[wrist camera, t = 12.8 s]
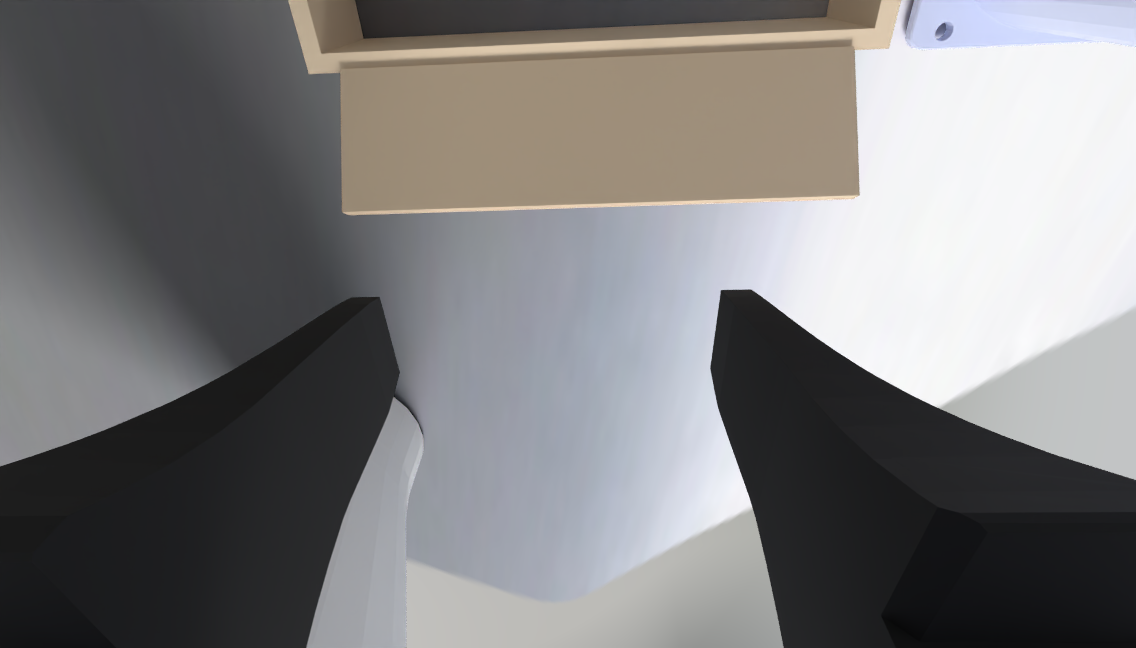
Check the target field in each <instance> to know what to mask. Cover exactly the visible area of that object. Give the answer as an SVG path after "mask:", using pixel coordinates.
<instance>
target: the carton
mask: <svg viewBox="0 0 1136 648" xmlns="http://www.w3.org/2000/svg"><path fill="white" fill-rule="evenodd" d="M288 2H289V5H290V9H291V12H292V16H293V19H294V23H295V26H296V30H297V33H298V37H299V40H300V44H301V48H302V51H303V55H304V58H305V62H306V65H307V69H308V72H309V74H321V73H340V84H341V171H342V212H343V213H345V214H347V215H371V214H402V213H434V212H465V211H496V210H527V209H559V208H590V207H621V206H653V205H684V204H715V203H747V202H778V201H809V200H841V199H854V198H855V197H857V196H859V195H860V194H859V165H858V135H857V106H856V76H855V50H865V49H888V48H889V46H890V42H891V38H892V34H893V30H894V26H895V22H896V18H897V14H898V10H899V7H900V3H901V0H829V4H828V10H827V15H826V17H815V18H794V19H772V20H751V21H730V22H709V23H687V24H666V25H645V26H623V27H602V28H581V29H560V30H538V31H517V32H496V33H474V34H453V35H432V36H411V37H389V38H368V39H364V38H363V33H362V29H361V24H360V20H359V16H358V11H357V7H356V2H355V0H288Z"/></svg>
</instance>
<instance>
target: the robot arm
mask: <svg viewBox="0 0 1136 648" xmlns="http://www.w3.org/2000/svg"><path fill="white" fill-rule="evenodd" d="M942 23H945V24H946V31H945V33H944V35H943V36H941V37H940V38H939V39H936V37H935V32H936V30H937V28H938V27H939V26H940V25H941V24H942ZM905 39H906V42H907V44H908V45H909V46H910V47H911V48H915V49H919V50H932V49H955V48H978V47H1001V46H1023V45H1046V44H1069V43H1092V42H1105V43H1112V44H1118V45H1125V46H1131V47H1136V0H914V3H913V7H912V11H911V14H910V18H909V22H908V26H907V30H906V36H905ZM710 369H711V374H712V379H713V385H714V390H715V395H716V400H717V404H718V409H719V412H720V415H721V418H722V421H723V423H724V426H725V429H726V432H727V435H728V438H729V441H730V444H731V446H732V449H733V452H734V455H735V458H736V461H737V463H738V466H739V469H740V472H741V475H742V478H743V480H744V483H745V486H746V489H747V492H748V494H749V497H750V501H751V504H752V507H753V511H754V514H755V517H756V521H757V525H758V529H759V534H760V538H761V542H762V547H763V551H764V555H765V560H766V564H767V569H768V573H769V577H770V582H771V587H772V592H773V596H774V601H775V606H776V610H777V615H778V620H779V625H780V631H781V636H782V641H783V646H784V648H1136V480H1134V479H1130V478H1127V477H1124V476H1121V475H1117V474H1114V473H1111V472H1108V471H1105V470H1102V469H1098V468H1095V467H1092V466H1089V465H1086V464H1082V463H1079V462H1076V461H1073V460H1069V459H1066V458H1063V457H1059V456H1057V455H1054V454H1051V453H1048V452H1045V451H1043V450H1040V449H1037V448H1034V447H1032V446H1029V445H1027V444H1024V443H1021V442H1018V441H1016V440H1013V439H1010V438H1007V437H1005V436H1002V435H1000V434H997V433H995V432H992V431H990V430H987V429H985V428H982V427H980V426H977V425H975V424H973V423H970V422H968V421H965V420H963V419H961V418H959V417H957V416H955V415H952V414H950V413H948V412H946V411H943V410H941V409H939V408H937V407H935V406H932V405H930V404H928V403H926V402H924V401H922V400H920V399H918V398H916V397H914V396H912V395H910V394H908V393H906V392H904V391H902V390H901V389H899V388H897V387H895V386H893V385H891V384H889V383H888V382H886V381H884V380H882V379H880V378H878V377H876V376H875V375H873V374H871V373H870V372H868V371H866V370H865V369H863V368H861V367H860V366H858V365H857V364H855V363H853V362H852V361H850V360H849V359H847V358H846V357H844V356H842V355H841V354H839V353H838V352H836V351H835V350H833V349H832V348H830V347H829V346H827V345H826V344H825V343H823V342H822V341H820V340H819V339H817V338H816V337H815V336H813V335H812V334H810V333H809V332H808V331H806V330H805V329H804V328H802V327H801V326H799V325H798V324H797V323H795V322H794V321H793V320H791V319H790V318H789V317H788V316H786V315H785V314H784V313H782V312H781V311H780V310H778V309H777V308H776V307H774V306H773V305H772V304H771V303H769V302H768V301H767V300H765V299H764V298H763V297H761V296H760V295H758V294H757V293H755V292H754V291H752V290H721V295H720V302H719V309H718V317H717V324H716V331H715V338H714V346H713V353H712V360H711V368H710ZM399 373H400V372H399V368H398V365H397V361H396V357H395V353H394V349H393V346H392V342H391V338H390V334H389V331H388V327H387V323H386V319H385V316H384V312H383V308H382V304H381V301H380V297H355V298H350V299H348V300H346V301H344V302H342V303H340V304H338V305H337V306H335V307H333V308H332V309H330V310H328V311H327V312H325V313H324V314H322V315H321V316H319V317H317V318H316V319H314V320H313V321H311V322H310V323H308V324H307V325H305V326H304V327H302V328H300V329H299V330H297V331H296V332H294V333H293V334H291V335H290V336H288V337H286V338H285V339H283V340H282V341H280V342H279V343H277V344H276V345H274V346H272V347H271V348H269V349H267V350H266V351H264V352H262V353H261V354H259V355H257V356H255V357H254V358H252V359H250V360H249V361H247V362H245V363H244V364H242V365H240V366H239V367H237V368H235V369H234V370H232V371H230V372H228V373H227V374H225V375H223V376H221V377H219V378H218V379H216V380H214V381H212V382H210V383H208V384H206V385H204V386H202V387H200V388H198V389H196V390H194V391H192V392H190V393H188V394H186V395H184V396H182V397H180V398H178V399H176V400H174V401H172V402H170V403H167V404H165V405H163V406H161V407H158V408H156V409H154V410H151V411H149V412H147V413H144V414H142V415H139V416H137V417H135V418H132V419H130V420H128V421H125V422H123V423H121V424H118V425H116V426H114V427H111V428H109V429H106V430H104V431H101V432H99V433H96V434H93V435H91V436H88V437H85V438H83V439H80V440H77V441H74V442H72V443H69V444H66V445H63V446H60V447H58V448H55V449H52V450H49V451H46V452H43V453H40V454H37V455H34V456H31V457H28V458H25V459H22V460H19V461H16V462H13V463H10V464H7V465H3V466H0V648H306V647H307V643H308V639H309V635H310V631H311V627H312V623H313V619H314V615H315V611H316V608H317V604H318V601H319V597H320V594H321V590H322V587H323V583H324V580H325V576H326V573H327V569H328V566H329V562H330V559H331V556H332V553H333V550H334V547H335V543H336V540H337V537H338V534H339V531H340V528H341V524H342V521H343V518H344V516H345V513H346V511H347V508H348V506H349V503H350V500H351V498H352V496H353V493H354V491H355V489H356V487H357V484H358V482H359V480H360V478H361V475H362V473H363V471H364V469H365V466H366V464H367V462H368V460H369V457H370V455H371V453H372V451H373V448H374V446H375V444H376V442H377V439H378V437H379V435H380V432H381V430H382V428H383V425H384V423H385V421H386V418H387V416H388V413H389V411H390V407H391V404H392V400H393V397H394V393H395V389H396V385H397V381H398V377H399Z"/></svg>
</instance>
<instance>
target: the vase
mask: <svg viewBox="0 0 1136 648" xmlns="http://www.w3.org/2000/svg"><path fill="white" fill-rule="evenodd" d="M422 454H423V435H422V433H421V430H420V427H419V424H418V422H417V421H416V419H415V418H414V417H413V415H412V414H411V413H410V411H409V410H408V409H407V408H406V407H405V406H404V405H403V404H402V403H400V402H399V401H398V400H397V399H396V398H394V397H393V400H392V404H391V407H390V411H389V413H388V416H387V418H386V421H385V423H384V425H383V428H382V430H381V432H380V435H379V437H378V439H377V442H376V444H375V446H374V448H373V451H372V453H371V455H370V457H369V460H368V462H367V464H366V466H365V469H364V471H363V473H362V475H361V478H360V480H359V482H358V484H357V487H356V489H355V491H354V493H353V496H352V498H351V500H350V503H349V506H348V508H347V511H346V513H345V516H344V518H343V521H342V524H341V528H340V531H339V534H338V537H337V540H336V543H335V547H334V550H333V553H332V556H331V559H330V562H329V566H328V569H327V573H326V576H325V580H324V583H323V587H322V590H321V594H320V597H319V601H318V604H317V608H316V611H315V615H314V619H313V623H312V627H311V631H310V635H309V639H308V643H307V647H306V648H406V514H407V507H408V500H409V494H410V491H411V488H412V485H413V482H414V479H415V476H416V473H417V470H418V466H419V463H420V460H421V457H422Z"/></svg>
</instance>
